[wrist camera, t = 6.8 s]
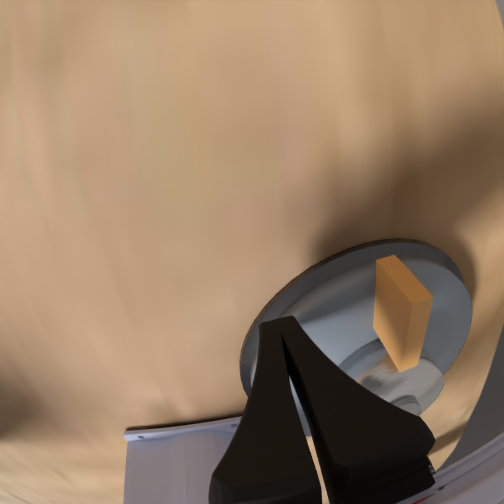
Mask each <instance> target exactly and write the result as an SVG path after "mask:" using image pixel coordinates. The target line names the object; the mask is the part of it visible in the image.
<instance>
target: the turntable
mask: <svg viewBox="0 0 504 504" xmlns="http://www.w3.org/2000/svg"><path fill="white" fill-rule="evenodd" d="M290 315H293V316H295V318H296V320H297V321H298V323H299V324H300V326H301V327H302V328H303V330H304V331H305V332H306V333H307V335H308V336H309V337H310V338H311V340H312V341H313V342H314V343H315V344H316V345H317V346H318V347H319V348H320V349H321V351H322V352H323V353H324V354H325V355H326V356H327V357H328V358H329V359H330V360H332V361H333V362H334V363H335V364H336V365H337V366H338V365H339V364H340V363H341V362H342V361H343V360H344V359H345V358H347V357H348V356H349V355H350V354H352V353H353V352H354V351H356V350H357V349H359V348H360V347H362V346H364V345H365V344H367V343H369V342H371V341H373V340H376V339H378V338H380V340H381V342H382V343H383V345H384V347H385V348H386V350H387V352H388V353H389V355H390V357H391V359H392V360H393V362H394V364H395V365H396V367H397V369H398V371H399V372H403V371H405V370H408V369H410V368H412V367H415V366H417V365H418V361H419V358H420V354H421V350H422V346H424V348H425V349H426V351H427V352H428V354H429V355H430V357H431V358H432V360H433V361H434V363H435V364H436V366H437V367H438V369H439V370H440V372H441V373H442V375H444V374H445V372H446V371H447V370H448V369H449V367H450V366H451V365H452V364H453V362H454V361H455V359H456V358H457V356H458V354H459V353H460V351H461V349H462V347H463V345H464V343H465V341H466V338H467V336H468V333H469V330H470V326H471V321H472V302H471V297H470V295H469V293H468V290H467V288H466V287H465V286H464V284H463V283H462V282H461V281H460V280H459V279H458V278H457V277H456V276H455V275H454V274H453V273H452V272H451V271H450V270H449V269H447V268H446V267H445V266H443V265H442V264H441V263H438V262H436V261H434V260H432V259H428V258H424V257H420V256H395V255H392V256H388V257H385V258H381V259H378V260H374V261H371V262H368V263H365V264H362V265H359V266H356V267H354V268H351V269H349V270H347V271H345V272H343V273H340V274H338V275H336V276H334V277H333V278H331V279H329V280H327V281H326V282H324V283H322V284H320V285H319V286H317V287H316V288H314V289H313V290H311V291H310V292H309V293H307V294H306V295H304V296H303V297H302V298H300V299H299V300H298V301H297V302H296V303H295V304H293V305H292V306H291V307H290V308H289V309H287V310H286V311H285V313H284V314H283V315H282V316H281V317H280V318H282V317H286V316H290ZM258 349H259V346H258V348H257V351H256V353H255V356H254V358H253V361H252V366H251V371H250V382H251V387H252V383H253V379H254V374H255V370H256V364H257V357H258ZM289 377H290V376H289ZM290 383H291V389H292V394H293V397H294V401H295V404H296V407H297V411H298V414H299V417H300V420H301V424H302V427H303V430H304V433H305V436H312V435H311V432H310V428H309V425H308V423H307V420H306V417H305V415H304V412H303V410H302V407H301V404H300V402H299V399H298V397H297V394H296V392H295V389H294V387H293V384H292V382H291V379H290Z"/></svg>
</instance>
